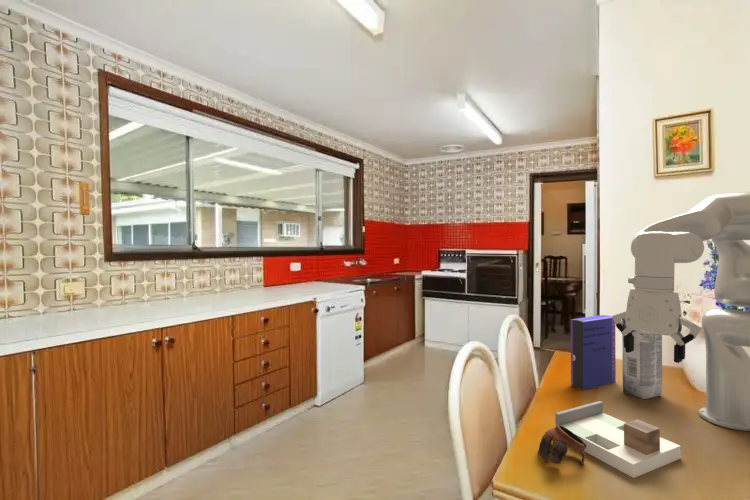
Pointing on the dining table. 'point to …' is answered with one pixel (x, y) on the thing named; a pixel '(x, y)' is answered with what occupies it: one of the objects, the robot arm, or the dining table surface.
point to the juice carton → (643, 365)
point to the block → (642, 436)
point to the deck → (613, 440)
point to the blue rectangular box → (592, 352)
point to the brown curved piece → (560, 444)
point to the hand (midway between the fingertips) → (652, 356)
